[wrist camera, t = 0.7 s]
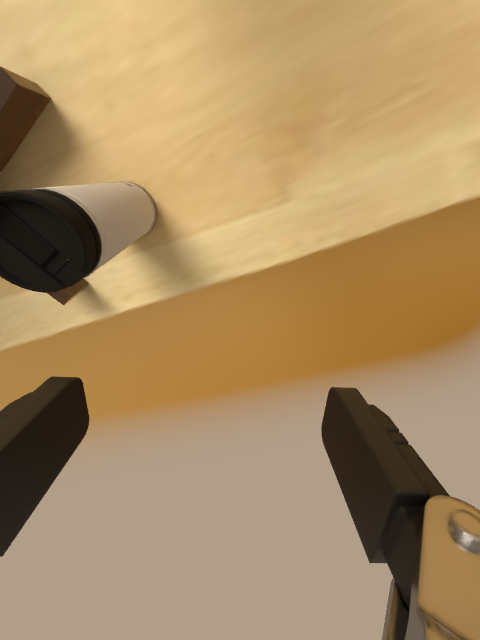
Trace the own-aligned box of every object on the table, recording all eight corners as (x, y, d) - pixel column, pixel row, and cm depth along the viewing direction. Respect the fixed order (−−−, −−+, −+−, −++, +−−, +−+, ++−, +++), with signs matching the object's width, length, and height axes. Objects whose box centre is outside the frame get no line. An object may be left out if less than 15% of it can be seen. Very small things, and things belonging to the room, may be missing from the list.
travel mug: (126, 166, 31) (-6, 156, 13) (167, 214, 34) (102, 258, 16) (91, 202, 33) (-67, 236, 15) (133, 245, 35) (40, 316, 18)
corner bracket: (-37, 196, 32) (-79, 200, 27) (36, 83, 27) (-1, 65, 23) (82, 290, 38) (63, 305, 33) (157, 210, 33) (147, 216, 29)
